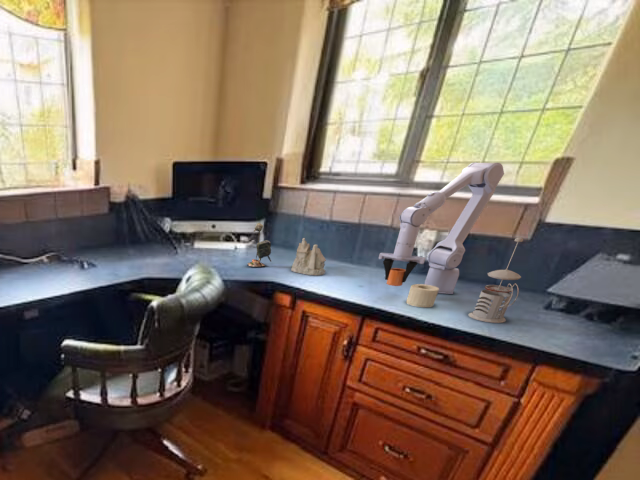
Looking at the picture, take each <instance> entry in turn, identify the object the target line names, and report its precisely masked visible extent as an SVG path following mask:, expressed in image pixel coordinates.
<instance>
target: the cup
mask: <svg viewBox="0 0 640 480" xmlns="http://www.w3.org/2000/svg"><path fill="white" fill-rule="evenodd" d="M405 271H406V268H401V267H391V269H390V271H389V275H388V279H387V280H386V283H385V284H386V285H387V286H392V287H402V286H403V284H404V282H402V280H403V277H404V275H405Z"/></svg>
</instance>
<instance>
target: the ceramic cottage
mask: <svg viewBox="0 0 640 480" xmlns="http://www.w3.org/2000/svg"><path fill="white" fill-rule="evenodd" d="M310 244H311V243H308V242H307V240H306V238H305V237H303V238H302V241H301V242H299V243H298V246H297V249H296V254H295V258H294V260H293V263H292V266H291V269H290V271H291V272H293V273H296V274H302V275H307V276H323V275H325V274H326V270H325V266H326V263H325V262H326V261H327V259H326V257H325V256H324V255H323V253H322V251H321V248H320V247H318V244H313V246H312V248H311V245H310ZM311 249H312V250H311Z"/></svg>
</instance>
